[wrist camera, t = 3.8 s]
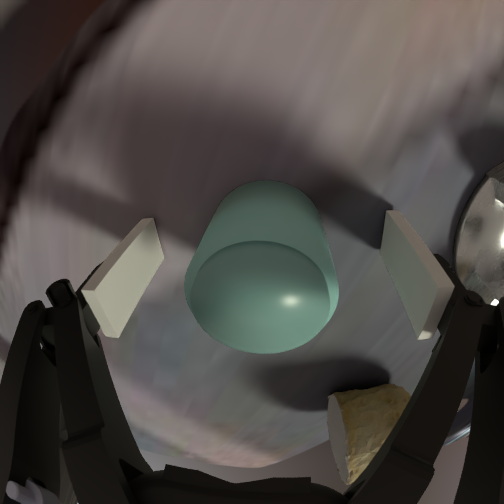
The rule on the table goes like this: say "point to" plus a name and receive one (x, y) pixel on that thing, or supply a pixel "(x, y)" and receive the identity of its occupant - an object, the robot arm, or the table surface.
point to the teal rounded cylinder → (263, 270)
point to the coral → (362, 425)
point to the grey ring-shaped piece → (483, 239)
